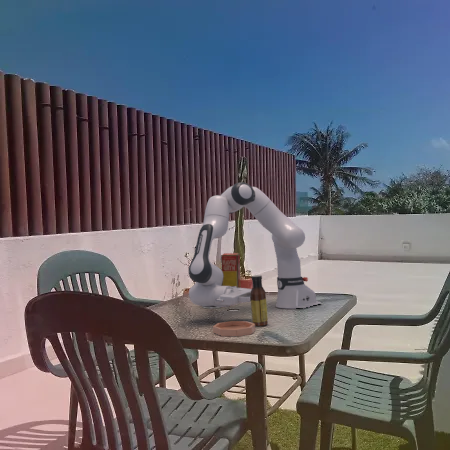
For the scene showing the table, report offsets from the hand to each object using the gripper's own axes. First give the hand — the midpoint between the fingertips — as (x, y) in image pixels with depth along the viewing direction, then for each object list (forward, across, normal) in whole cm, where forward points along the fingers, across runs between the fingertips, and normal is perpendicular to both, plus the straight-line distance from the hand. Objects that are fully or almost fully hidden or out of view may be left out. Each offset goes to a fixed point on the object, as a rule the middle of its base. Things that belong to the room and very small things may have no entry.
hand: (255, 297), depth 195 cm
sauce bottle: (+2, 0, +11) cm, 11 cm away
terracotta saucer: (-3, -14, +11) cm, 18 cm away
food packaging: (-36, +50, +11) cm, 62 cm away
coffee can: (-37, +32, +11) cm, 50 cm away
